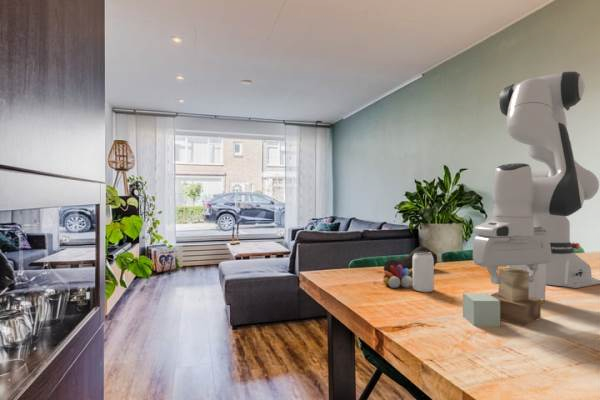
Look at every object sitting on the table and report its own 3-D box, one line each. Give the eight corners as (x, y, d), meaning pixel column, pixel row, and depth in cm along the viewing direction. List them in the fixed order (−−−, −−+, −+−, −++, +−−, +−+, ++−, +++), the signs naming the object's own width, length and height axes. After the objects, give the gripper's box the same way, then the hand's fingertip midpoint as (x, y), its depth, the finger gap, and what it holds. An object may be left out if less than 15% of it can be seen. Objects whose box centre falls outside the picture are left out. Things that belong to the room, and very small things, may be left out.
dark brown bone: (422, 270, 143) (389, 291, 124) (410, 248, 146) (375, 265, 127) (444, 262, 136) (412, 282, 117) (431, 239, 139) (397, 255, 120)
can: (435, 293, 103) (435, 255, 103) (414, 292, 104) (413, 254, 104) (431, 287, 110) (431, 251, 109) (411, 286, 111) (411, 251, 111)
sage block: (487, 317, 83) (487, 293, 83) (500, 326, 77) (500, 301, 77) (462, 316, 83) (462, 293, 83) (473, 326, 78) (473, 300, 77)
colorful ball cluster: (379, 283, 116) (379, 262, 116) (406, 282, 117) (406, 261, 117) (388, 289, 108) (388, 267, 108) (416, 288, 109) (416, 267, 109)
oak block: (514, 294, 86) (514, 267, 85) (528, 300, 81) (529, 272, 81) (498, 295, 85) (499, 268, 85) (512, 301, 81) (512, 272, 80)
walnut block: (501, 308, 89) (501, 290, 89) (540, 318, 82) (540, 298, 82) (485, 316, 84) (485, 296, 84) (525, 327, 77) (525, 306, 77)
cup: (494, 296, 100) (494, 238, 100) (518, 291, 104) (518, 236, 104) (533, 307, 89) (533, 243, 89) (558, 301, 94) (558, 241, 94)
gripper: (536, 225, 88) (536, 277, 88) (468, 227, 84) (468, 281, 84) (558, 227, 82) (558, 283, 82) (486, 230, 78) (487, 288, 78)
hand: (512, 282), depth 83 cm, fingers open, 8 cm apart
